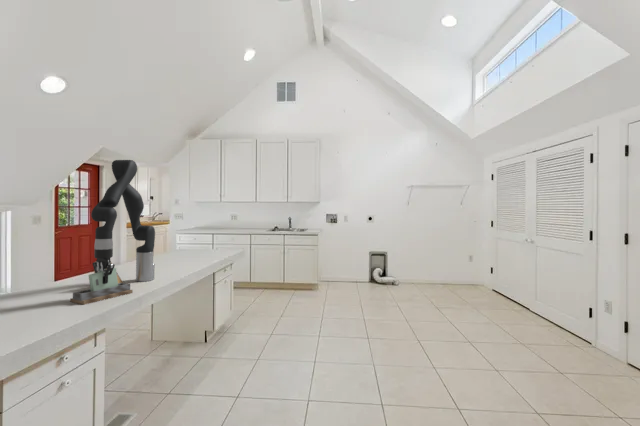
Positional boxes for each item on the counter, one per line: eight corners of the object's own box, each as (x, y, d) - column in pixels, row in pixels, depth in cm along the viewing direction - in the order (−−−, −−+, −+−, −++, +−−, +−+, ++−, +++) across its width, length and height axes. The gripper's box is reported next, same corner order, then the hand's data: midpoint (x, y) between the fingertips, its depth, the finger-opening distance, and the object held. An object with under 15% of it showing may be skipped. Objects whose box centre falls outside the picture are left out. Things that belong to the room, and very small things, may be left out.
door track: (119, 290, 176) (119, 282, 176) (132, 292, 172) (132, 284, 172) (70, 301, 154) (70, 292, 154) (84, 304, 150) (84, 294, 150)
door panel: (115, 286, 170) (112, 267, 169) (118, 287, 169) (116, 268, 168) (91, 295, 159) (88, 275, 158) (94, 295, 158) (92, 275, 157)
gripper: (120, 248, 164) (120, 283, 164) (102, 246, 169) (101, 280, 169) (105, 249, 157) (105, 286, 157) (86, 247, 162) (86, 283, 163)
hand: (103, 283), depth 163 cm, fingers closed on door panel, 2 cm apart
